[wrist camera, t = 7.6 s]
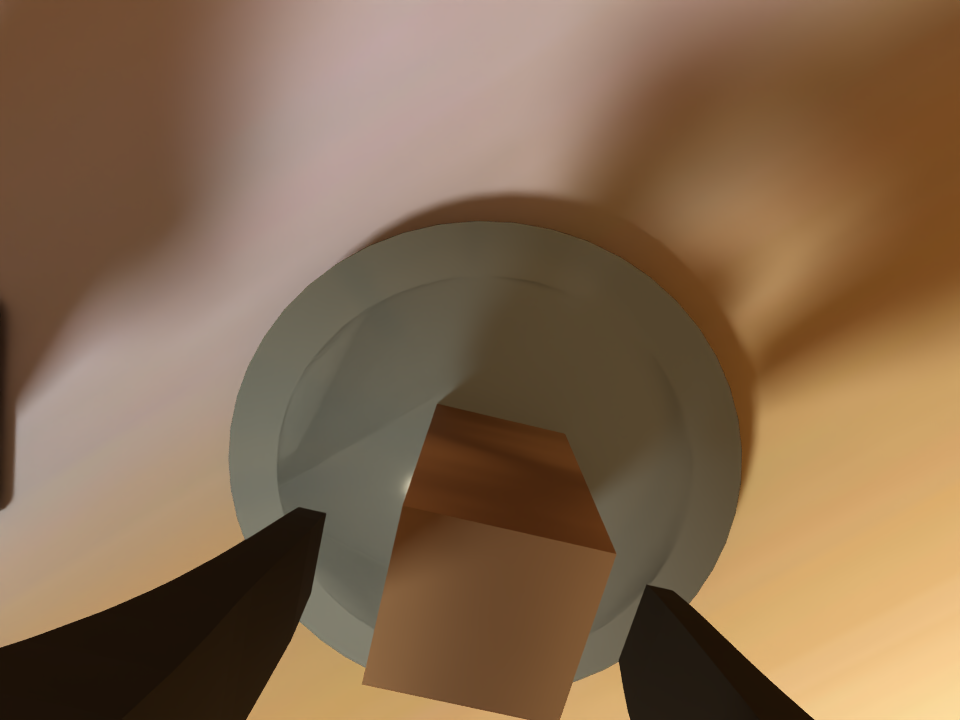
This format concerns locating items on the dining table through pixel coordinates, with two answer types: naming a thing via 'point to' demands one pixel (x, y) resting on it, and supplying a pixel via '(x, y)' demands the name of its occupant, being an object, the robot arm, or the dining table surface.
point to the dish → (487, 409)
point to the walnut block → (491, 570)
